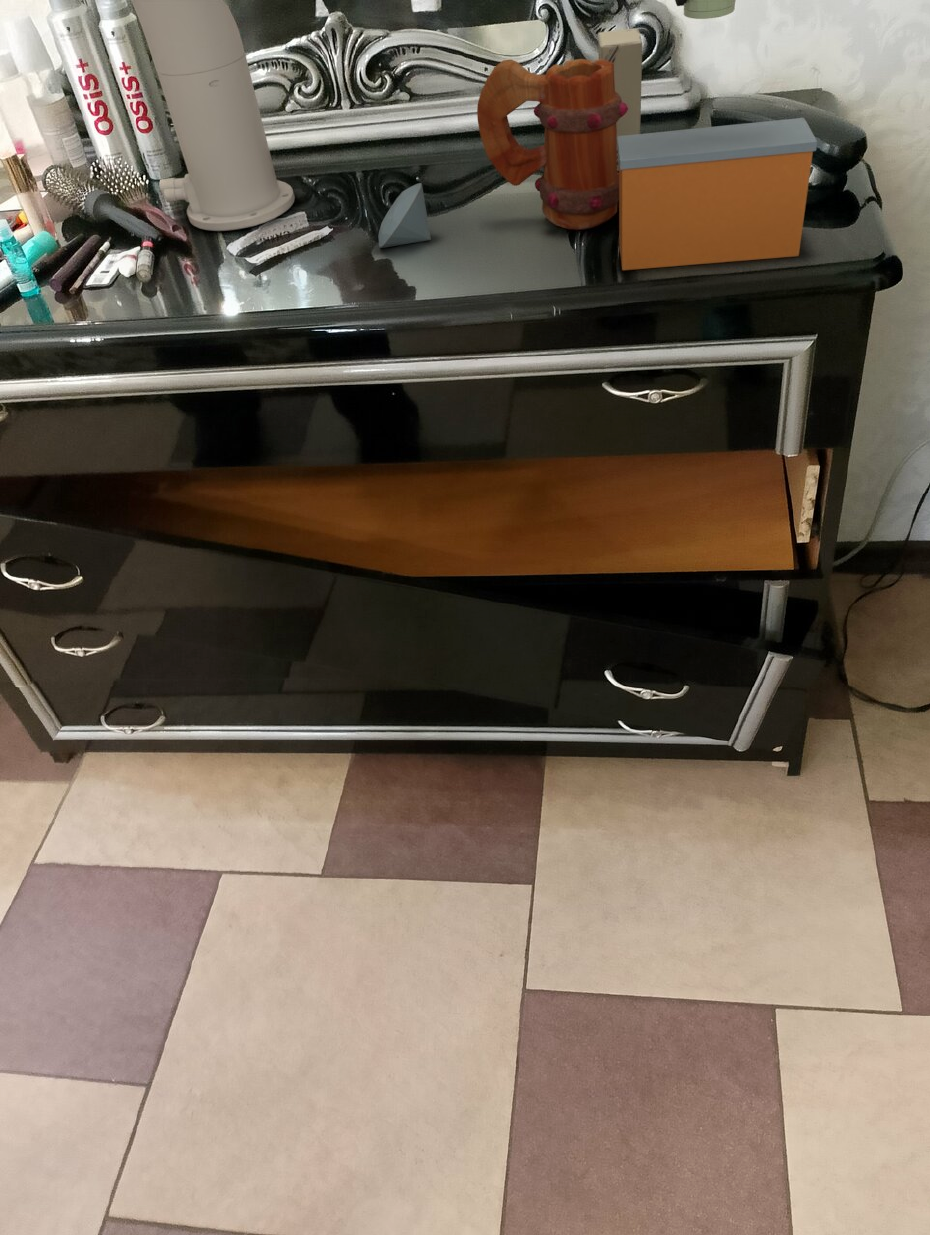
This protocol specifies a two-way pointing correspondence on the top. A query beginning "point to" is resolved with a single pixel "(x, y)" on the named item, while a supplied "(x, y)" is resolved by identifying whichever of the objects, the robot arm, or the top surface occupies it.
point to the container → (713, 193)
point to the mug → (559, 136)
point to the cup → (708, 8)
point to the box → (625, 74)
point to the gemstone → (405, 219)
